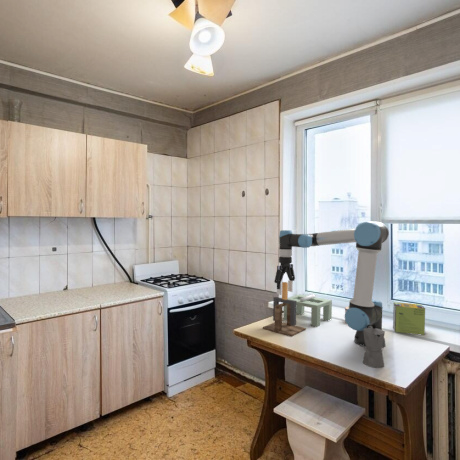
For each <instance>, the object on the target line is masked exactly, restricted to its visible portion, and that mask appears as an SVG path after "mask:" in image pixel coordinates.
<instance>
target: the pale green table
mask: <svg viewBox="0 0 460 460" xmlns="http://www.w3.org/2000/svg"><path fill="white" fill-rule="evenodd" d="M288 299H289V300H294V301H296V313H297V314H296V315H299V314H303V313H304V314H305V307H306V308H311V310H310V311H311V313H310V314H311V318H310V325H311V326H313V327H315V328H316V327H317V328H318V327H319V326H321V308H322V309H323V310H322V320H323V319H324V320H323V321H326V320H330V319H331V320H332V315H333V314H332V313H333V311H332V310H333V309H332V307H333V306H332V305H333V300H332V299H329V298H321V297H316V295H315V294H314V293H313V294H310V295H304V294H296V295H294V296H290V297H288ZM304 314H303V315H304ZM283 319H284V320H287V305H286V306H283ZM331 320H330V321H331Z"/></svg>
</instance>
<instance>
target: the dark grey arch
mask: <svg viewBox="0 0 460 460" xmlns="http://www.w3.org/2000/svg"><path fill="white" fill-rule="evenodd" d="M281 284H282V294H281V297H277V296H275V297H273V304H272V306H273V312H272V315H273V317H272V320H273V322H275V306H276V305H278V304H280V303H287V304H291V311H290V325H293V326H294V325H295V326H297V314H296V301H294V300H289V299H288V298H289V296H288V293H289V291H288V281H283V282H282V281H281Z"/></svg>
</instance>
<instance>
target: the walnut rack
mask: <svg viewBox="0 0 460 460" xmlns="http://www.w3.org/2000/svg"><path fill="white" fill-rule="evenodd" d="M286 305H287V319H286V322H283V308H284V306H286ZM290 311H291V304H287V303H282V302H280V303H279V304H278V305H276V306H275V321H273V322H272V323H269V324H266V325H265V326H262V330H266V331H270V332H273V333H277V334H281V335H285V336H287V337H291V338H292V337H295V336H296V335H299V334H300V333H302V332H305V331H306V330H307V328H306V327H302V326H298V325H294V326H293V325H290Z"/></svg>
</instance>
